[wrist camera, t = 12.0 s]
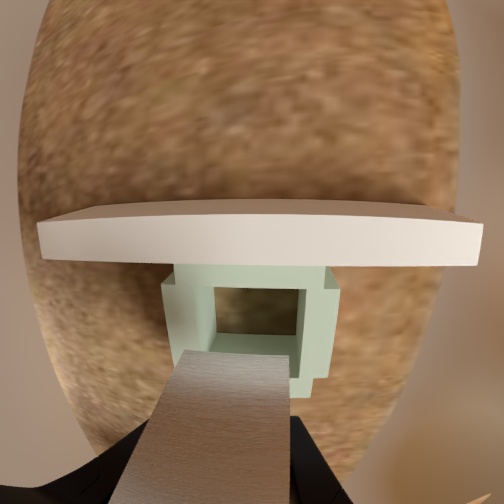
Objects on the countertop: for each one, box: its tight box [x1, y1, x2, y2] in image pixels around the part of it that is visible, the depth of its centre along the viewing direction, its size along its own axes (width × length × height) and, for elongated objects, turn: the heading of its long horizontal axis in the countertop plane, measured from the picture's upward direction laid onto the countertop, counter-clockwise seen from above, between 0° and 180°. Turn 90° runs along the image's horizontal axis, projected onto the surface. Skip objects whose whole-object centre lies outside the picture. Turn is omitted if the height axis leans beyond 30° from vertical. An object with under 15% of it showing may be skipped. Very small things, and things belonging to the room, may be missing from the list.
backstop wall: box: [37, 199, 483, 266], centre depth 14 cm, size 2×22×6 cm, turn 91°
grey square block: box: [108, 350, 290, 504], centre depth 6 cm, size 4×4×7 cm
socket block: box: [161, 264, 340, 398], centre depth 16 cm, size 9×9×4 cm
